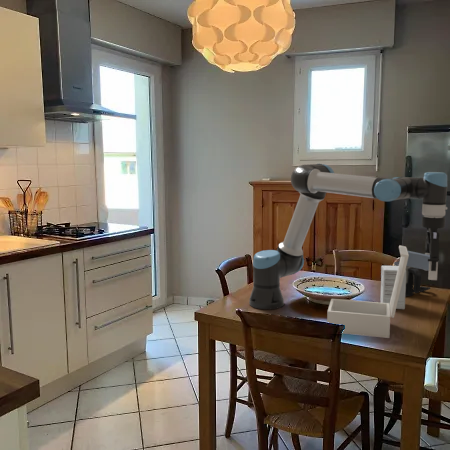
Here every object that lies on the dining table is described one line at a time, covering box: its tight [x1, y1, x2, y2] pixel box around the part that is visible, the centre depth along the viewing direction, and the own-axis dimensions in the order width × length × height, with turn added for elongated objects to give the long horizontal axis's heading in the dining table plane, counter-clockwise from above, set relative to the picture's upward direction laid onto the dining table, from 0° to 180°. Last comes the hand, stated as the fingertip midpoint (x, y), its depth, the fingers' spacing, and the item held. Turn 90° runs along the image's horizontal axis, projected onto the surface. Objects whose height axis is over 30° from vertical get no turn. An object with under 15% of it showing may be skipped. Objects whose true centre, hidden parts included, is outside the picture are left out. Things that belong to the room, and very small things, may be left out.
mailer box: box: [326, 298, 391, 339], centre depth 179 cm, size 22×16×8 cm
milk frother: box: [393, 260, 431, 297], centre depth 221 cm, size 14×16×15 cm
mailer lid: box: [390, 244, 430, 318], centre depth 171 cm, size 23×16×12 cm
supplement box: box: [379, 265, 406, 310], centre depth 203 cm, size 10×9×17 cm
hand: (430, 274), depth 169 cm, fingers open, 13 cm apart
